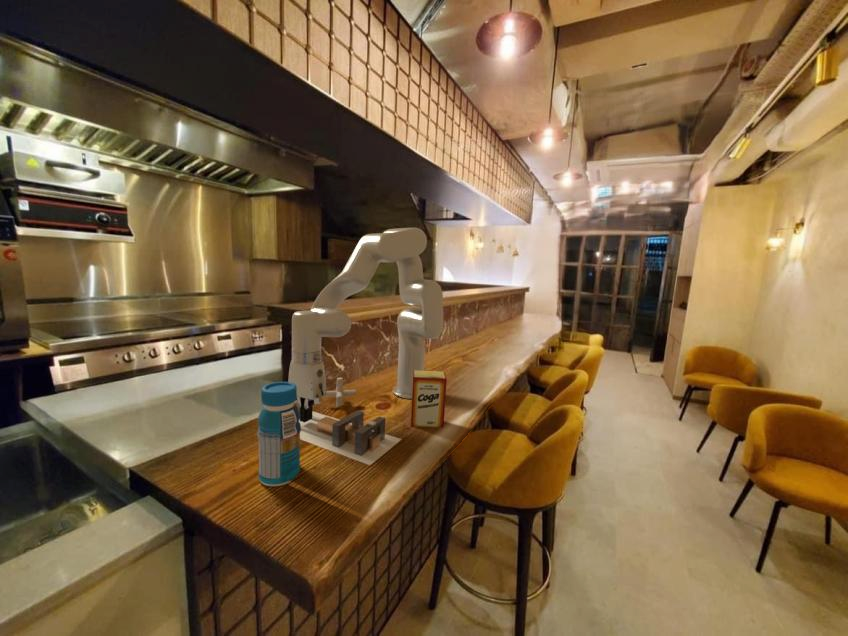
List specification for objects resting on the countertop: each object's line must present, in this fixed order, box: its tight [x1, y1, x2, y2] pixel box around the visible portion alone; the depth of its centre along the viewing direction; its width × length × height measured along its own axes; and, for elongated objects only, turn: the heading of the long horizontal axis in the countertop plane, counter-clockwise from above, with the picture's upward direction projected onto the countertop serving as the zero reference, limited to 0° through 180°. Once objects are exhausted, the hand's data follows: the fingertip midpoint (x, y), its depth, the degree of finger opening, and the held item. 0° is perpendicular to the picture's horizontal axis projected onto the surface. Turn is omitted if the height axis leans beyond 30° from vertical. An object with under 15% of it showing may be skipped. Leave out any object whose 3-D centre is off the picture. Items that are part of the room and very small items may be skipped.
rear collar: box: [332, 409, 365, 448], centre depth 87 cm, size 10×2×6 cm, turn 153°
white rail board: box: [299, 410, 402, 466], centre depth 90 cm, size 14×34×2 cm, turn 63°
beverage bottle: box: [256, 381, 301, 487], centre depth 71 cm, size 8×8×20 cm
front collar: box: [355, 416, 386, 456], centre depth 84 cm, size 10×2×6 cm, turn 153°
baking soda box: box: [410, 370, 448, 429], centre depth 98 cm, size 10×6×16 cm
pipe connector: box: [322, 377, 357, 407], centre depth 107 cm, size 10×10×10 cm
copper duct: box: [317, 416, 380, 452], centre depth 87 cm, size 18×3×3 cm, turn 63°
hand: (306, 419), depth 94 cm, fingers closed
